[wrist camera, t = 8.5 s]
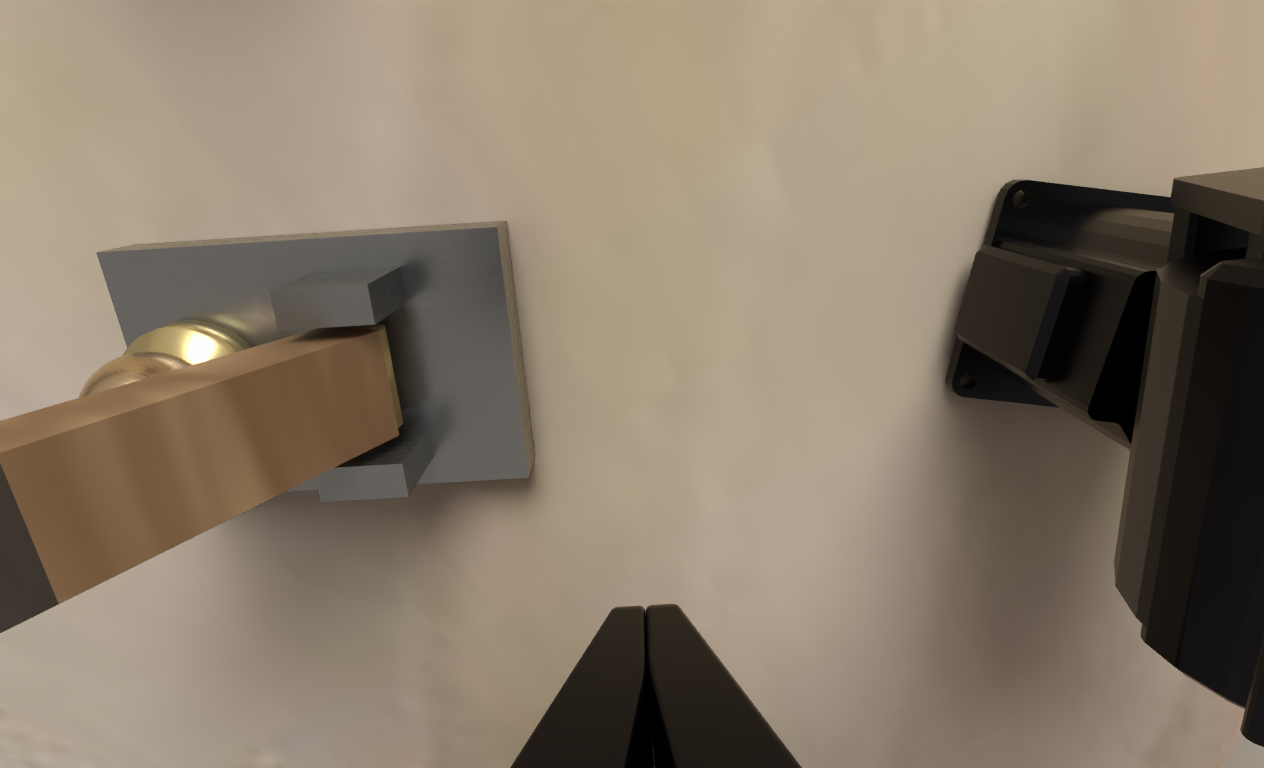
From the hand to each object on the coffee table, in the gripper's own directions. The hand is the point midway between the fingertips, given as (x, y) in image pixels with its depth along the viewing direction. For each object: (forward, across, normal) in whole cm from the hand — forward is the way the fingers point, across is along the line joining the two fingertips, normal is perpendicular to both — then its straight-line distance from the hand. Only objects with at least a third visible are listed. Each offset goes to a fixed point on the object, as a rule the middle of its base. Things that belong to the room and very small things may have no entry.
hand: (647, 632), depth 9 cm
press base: (+13, +9, 0) cm, 16 cm away
